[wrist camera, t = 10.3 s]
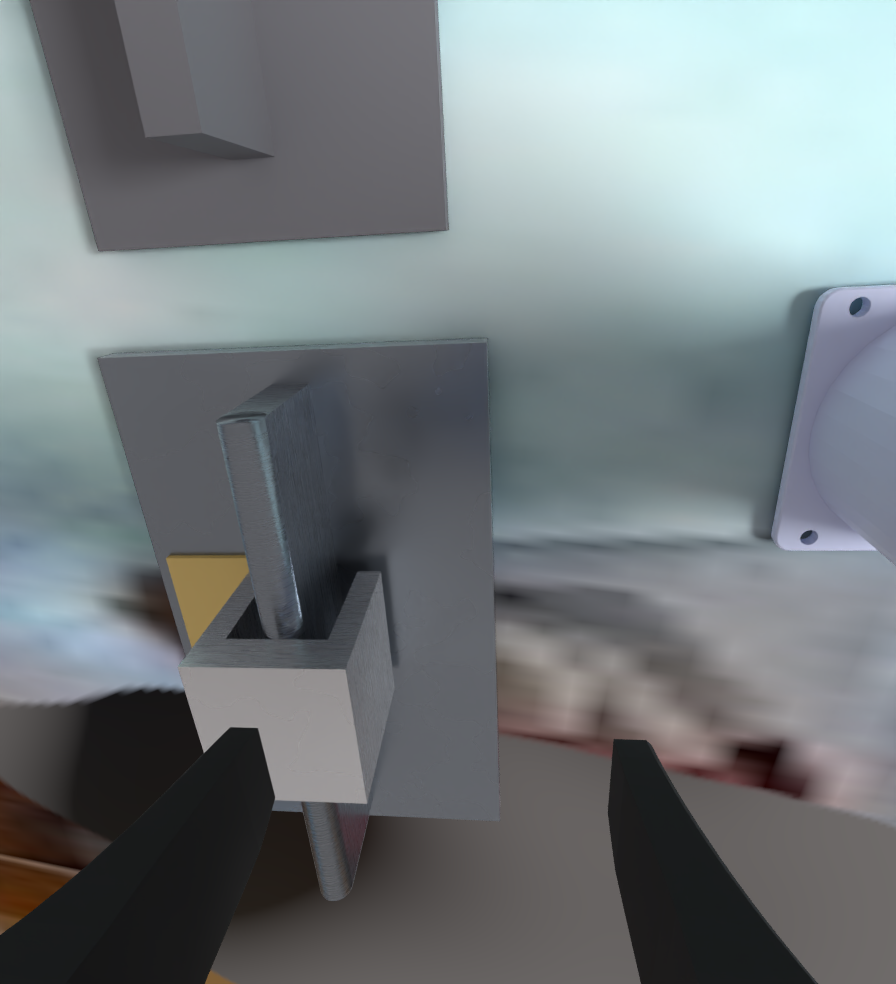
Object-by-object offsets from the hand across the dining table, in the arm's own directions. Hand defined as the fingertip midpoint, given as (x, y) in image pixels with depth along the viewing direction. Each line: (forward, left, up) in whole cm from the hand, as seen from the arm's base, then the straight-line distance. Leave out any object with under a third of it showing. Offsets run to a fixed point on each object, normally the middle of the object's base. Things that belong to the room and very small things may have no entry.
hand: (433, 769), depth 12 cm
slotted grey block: (+5, +3, -8) cm, 10 cm away
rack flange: (+5, +3, -9) cm, 11 cm away
